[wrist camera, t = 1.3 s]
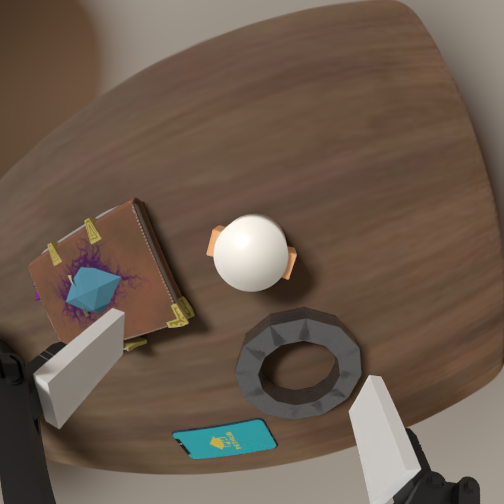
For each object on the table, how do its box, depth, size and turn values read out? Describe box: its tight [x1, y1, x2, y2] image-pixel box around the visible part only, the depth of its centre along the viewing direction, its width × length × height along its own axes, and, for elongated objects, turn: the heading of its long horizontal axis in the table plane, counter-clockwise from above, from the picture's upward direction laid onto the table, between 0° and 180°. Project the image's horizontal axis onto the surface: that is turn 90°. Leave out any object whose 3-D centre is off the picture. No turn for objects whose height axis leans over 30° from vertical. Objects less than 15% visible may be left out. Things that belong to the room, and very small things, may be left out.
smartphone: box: [172, 418, 277, 459], centre depth 38 cm, size 7×1×15 cm
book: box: [28, 198, 195, 352], centre depth 32 cm, size 16×25×5 cm, turn 113°
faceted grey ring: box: [235, 307, 361, 420], centre depth 32 cm, size 14×14×3 cm
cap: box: [206, 214, 297, 292], centre depth 29 cm, size 8×7×5 cm
